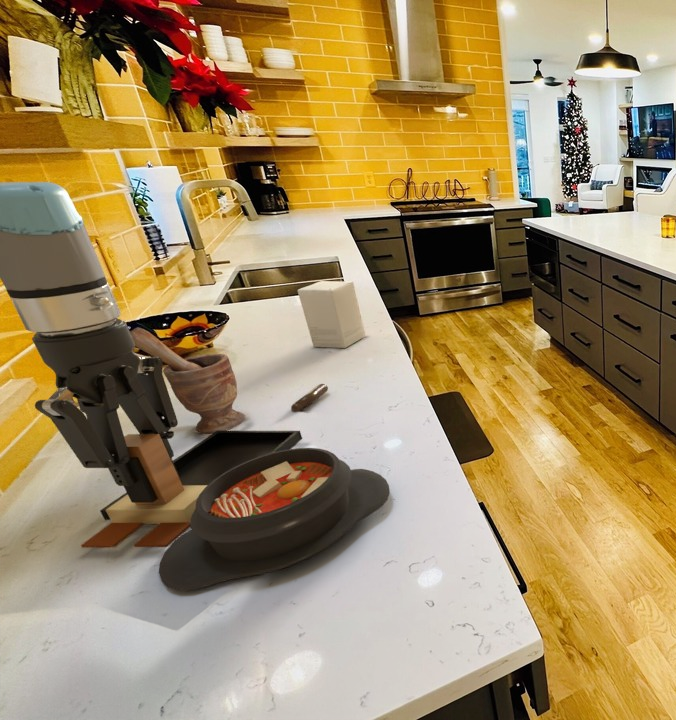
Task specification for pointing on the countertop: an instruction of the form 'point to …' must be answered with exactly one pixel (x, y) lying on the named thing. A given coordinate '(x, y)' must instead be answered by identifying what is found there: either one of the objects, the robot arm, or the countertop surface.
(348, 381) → the countertop surface
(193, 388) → the mortar and pestle
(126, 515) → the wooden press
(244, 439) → the griddle pan
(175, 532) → the plate
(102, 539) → the plate
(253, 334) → the countertop surface
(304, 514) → the casserole
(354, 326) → the rectangular carton
